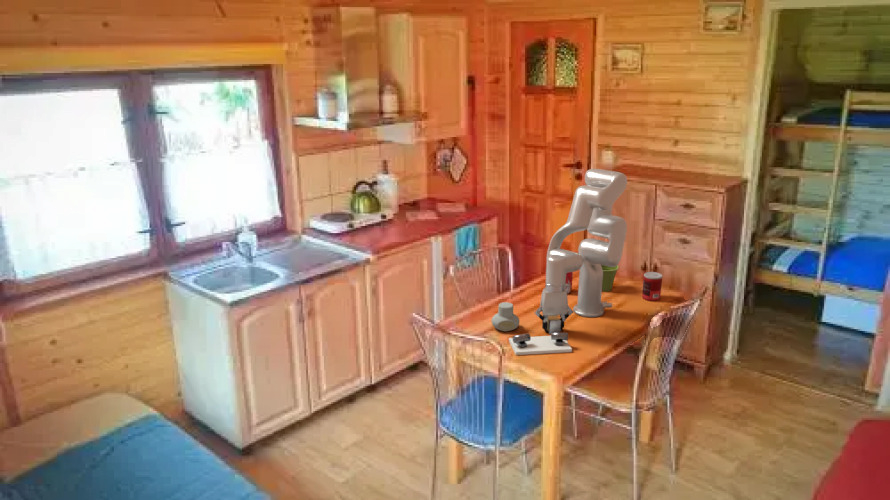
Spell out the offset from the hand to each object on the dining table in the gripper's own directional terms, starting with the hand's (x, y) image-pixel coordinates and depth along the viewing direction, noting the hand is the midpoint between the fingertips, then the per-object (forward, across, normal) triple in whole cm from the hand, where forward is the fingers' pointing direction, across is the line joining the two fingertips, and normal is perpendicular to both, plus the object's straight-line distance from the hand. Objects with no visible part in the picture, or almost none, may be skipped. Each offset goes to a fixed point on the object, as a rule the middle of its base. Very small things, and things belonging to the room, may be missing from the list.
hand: (553, 329), depth 263 cm
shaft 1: (0, +16, +13) cm, 20 cm away
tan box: (+1, 0, 0) cm, 1 cm away
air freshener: (+1, +18, -5) cm, 19 cm away
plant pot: (+1, -35, -41) cm, 54 cm away
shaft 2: (0, +1, +13) cm, 13 cm away
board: (+1, +8, +12) cm, 15 cm away
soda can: (+1, -16, -40) cm, 43 cm away
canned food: (+1, -52, -28) cm, 59 cm away
